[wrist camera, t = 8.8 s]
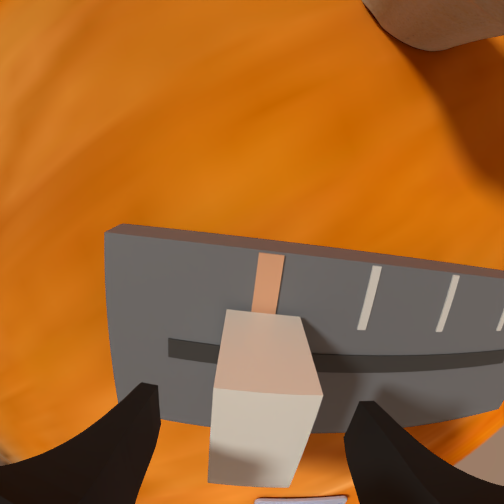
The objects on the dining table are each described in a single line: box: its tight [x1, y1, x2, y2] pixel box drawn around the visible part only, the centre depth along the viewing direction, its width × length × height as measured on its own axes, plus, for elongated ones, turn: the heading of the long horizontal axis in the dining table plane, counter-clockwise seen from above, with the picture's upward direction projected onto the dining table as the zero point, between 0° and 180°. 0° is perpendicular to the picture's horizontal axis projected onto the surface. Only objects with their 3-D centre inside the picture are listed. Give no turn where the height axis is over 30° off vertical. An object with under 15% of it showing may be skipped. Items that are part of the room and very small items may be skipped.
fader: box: [208, 309, 323, 487], centre depth 11 cm, size 5×3×5 cm, turn 173°
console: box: [105, 224, 504, 433], centre depth 15 cm, size 10×26×2 cm, turn 83°
